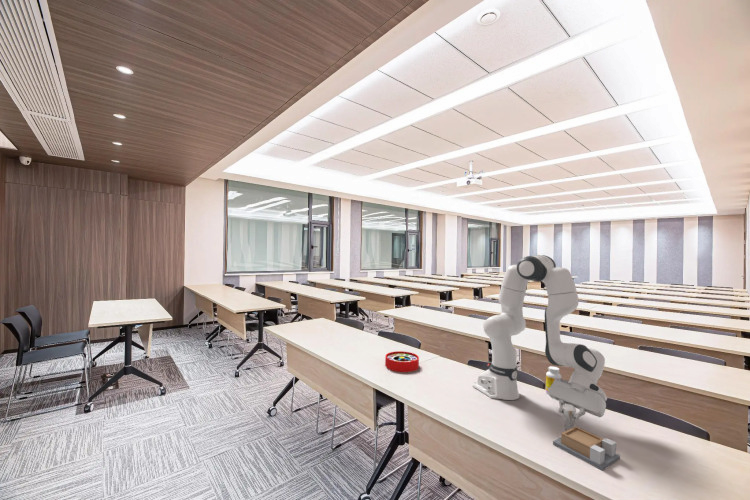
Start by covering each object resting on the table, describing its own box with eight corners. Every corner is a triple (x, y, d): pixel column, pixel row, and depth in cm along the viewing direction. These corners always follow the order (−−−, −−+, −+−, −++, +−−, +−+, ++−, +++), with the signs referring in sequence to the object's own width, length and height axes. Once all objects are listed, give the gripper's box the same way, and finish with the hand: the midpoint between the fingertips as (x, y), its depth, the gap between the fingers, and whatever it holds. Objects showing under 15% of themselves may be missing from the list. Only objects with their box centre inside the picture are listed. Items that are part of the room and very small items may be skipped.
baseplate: (553, 444, 117) (553, 430, 117) (570, 435, 123) (571, 421, 123) (602, 470, 103) (602, 454, 103) (619, 458, 109) (620, 443, 109)
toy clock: (394, 349, 208) (424, 355, 197) (394, 358, 208) (423, 364, 197) (379, 357, 190) (410, 364, 180) (379, 367, 190) (410, 375, 180)
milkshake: (561, 424, 131) (561, 399, 132) (577, 428, 128) (576, 402, 128) (559, 428, 128) (558, 402, 128) (575, 433, 124) (574, 406, 125)
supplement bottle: (554, 397, 155) (555, 371, 155) (542, 392, 161) (543, 366, 161) (564, 395, 157) (564, 369, 157) (552, 390, 164) (552, 364, 164)
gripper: (553, 372, 140) (539, 400, 135) (606, 390, 123) (593, 423, 118) (558, 381, 143) (545, 408, 137) (612, 399, 125) (599, 432, 120)
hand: (568, 415), depth 127 cm, fingers closed on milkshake, 4 cm apart
